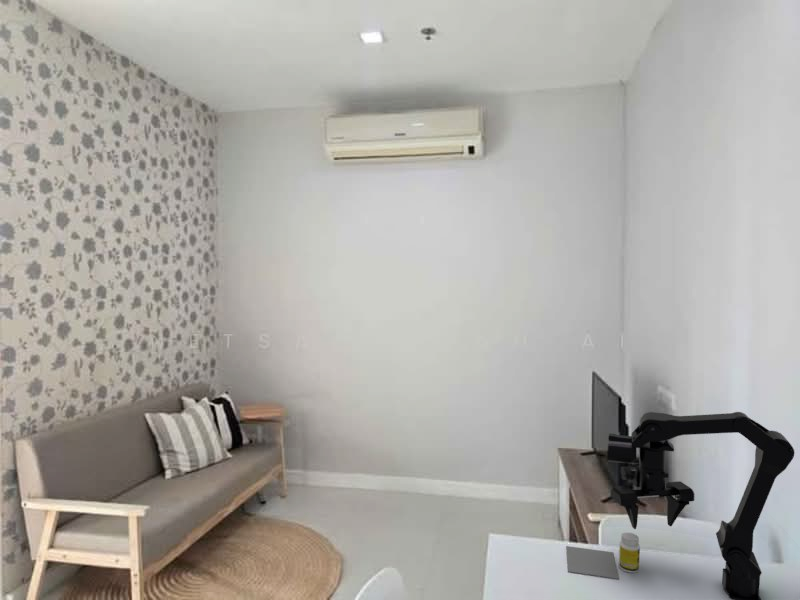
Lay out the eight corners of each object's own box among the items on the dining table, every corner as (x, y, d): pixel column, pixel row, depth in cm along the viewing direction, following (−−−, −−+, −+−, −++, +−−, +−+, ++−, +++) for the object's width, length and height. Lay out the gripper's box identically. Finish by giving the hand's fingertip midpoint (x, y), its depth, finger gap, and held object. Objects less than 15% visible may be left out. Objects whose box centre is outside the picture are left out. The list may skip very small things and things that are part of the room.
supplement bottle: (641, 574, 134) (642, 542, 133) (620, 572, 135) (622, 540, 134) (636, 563, 138) (637, 532, 138) (617, 561, 139) (618, 530, 139)
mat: (613, 553, 143) (613, 552, 143) (619, 579, 132) (619, 578, 131) (566, 547, 146) (566, 545, 146) (567, 572, 135) (568, 571, 135)
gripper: (669, 451, 141) (668, 509, 142) (600, 456, 139) (600, 514, 140) (696, 467, 130) (695, 530, 131) (622, 473, 128) (622, 536, 129)
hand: (651, 526), depth 133 cm, fingers open, 9 cm apart
